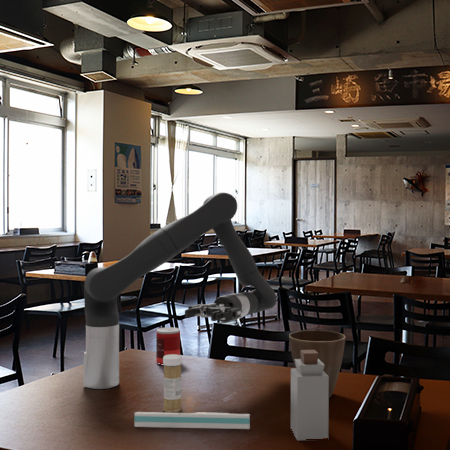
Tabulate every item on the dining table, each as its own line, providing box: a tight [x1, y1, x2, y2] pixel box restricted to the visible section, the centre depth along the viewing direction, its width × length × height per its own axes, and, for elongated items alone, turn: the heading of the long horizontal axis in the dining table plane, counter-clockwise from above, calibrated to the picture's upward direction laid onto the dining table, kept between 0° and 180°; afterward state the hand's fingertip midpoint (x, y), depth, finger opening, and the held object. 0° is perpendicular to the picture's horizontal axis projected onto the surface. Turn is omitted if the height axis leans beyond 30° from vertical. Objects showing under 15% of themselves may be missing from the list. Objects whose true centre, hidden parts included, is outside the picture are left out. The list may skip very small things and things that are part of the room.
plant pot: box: [288, 329, 346, 398], centre depth 144 cm, size 15×15×16 cm
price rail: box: [133, 411, 251, 430], centre depth 126 cm, size 26×10×3 cm, turn 87°
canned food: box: [155, 326, 181, 364], centre depth 178 cm, size 8×8×11 cm
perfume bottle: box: [290, 350, 330, 441], centre depth 118 cm, size 7×7×18 cm
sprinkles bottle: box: [162, 354, 183, 413], centre depth 132 cm, size 5×5×14 cm
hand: (198, 315), depth 142 cm, fingers open, 8 cm apart
